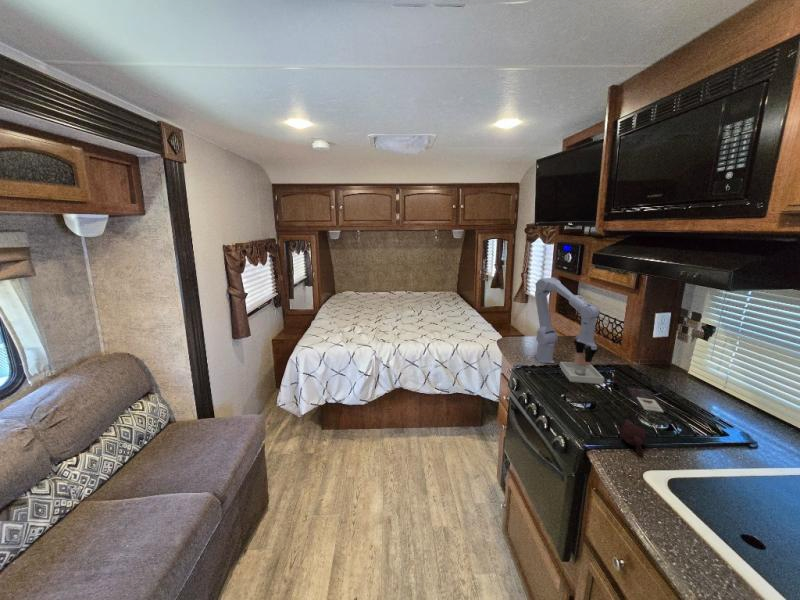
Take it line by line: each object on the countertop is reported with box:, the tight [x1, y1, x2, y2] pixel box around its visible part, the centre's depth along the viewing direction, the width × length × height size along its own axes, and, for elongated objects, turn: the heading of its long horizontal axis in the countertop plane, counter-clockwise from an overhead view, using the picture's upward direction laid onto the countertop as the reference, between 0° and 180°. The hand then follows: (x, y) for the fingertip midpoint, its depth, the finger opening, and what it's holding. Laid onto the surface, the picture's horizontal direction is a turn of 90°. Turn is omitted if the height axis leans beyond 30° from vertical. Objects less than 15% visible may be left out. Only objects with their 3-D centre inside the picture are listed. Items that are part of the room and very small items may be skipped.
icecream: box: [618, 418, 647, 457], centre depth 107 cm, size 7×7×15 cm
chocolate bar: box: [625, 386, 668, 414], centre depth 133 cm, size 9×1×18 cm
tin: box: [575, 364, 586, 376], centre depth 155 cm, size 4×4×6 cm
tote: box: [559, 361, 605, 385], centre depth 155 cm, size 16×14×3 cm
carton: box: [573, 352, 591, 365], centre depth 153 cm, size 4×6×4 cm
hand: (583, 358), depth 153 cm, fingers open, 7 cm apart
